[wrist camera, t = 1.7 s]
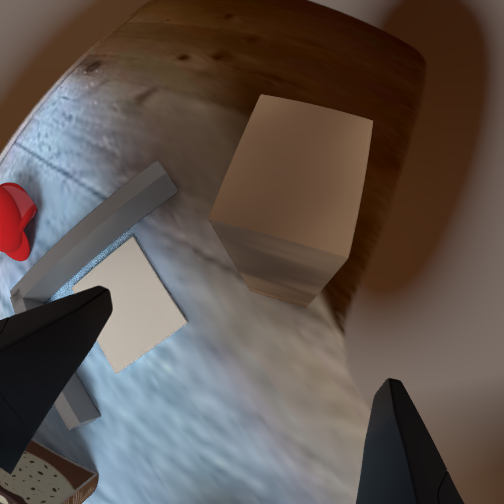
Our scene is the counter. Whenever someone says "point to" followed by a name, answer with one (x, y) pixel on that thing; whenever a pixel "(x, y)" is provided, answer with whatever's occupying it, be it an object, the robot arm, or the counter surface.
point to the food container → (46, 479)
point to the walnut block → (292, 197)
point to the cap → (15, 220)
